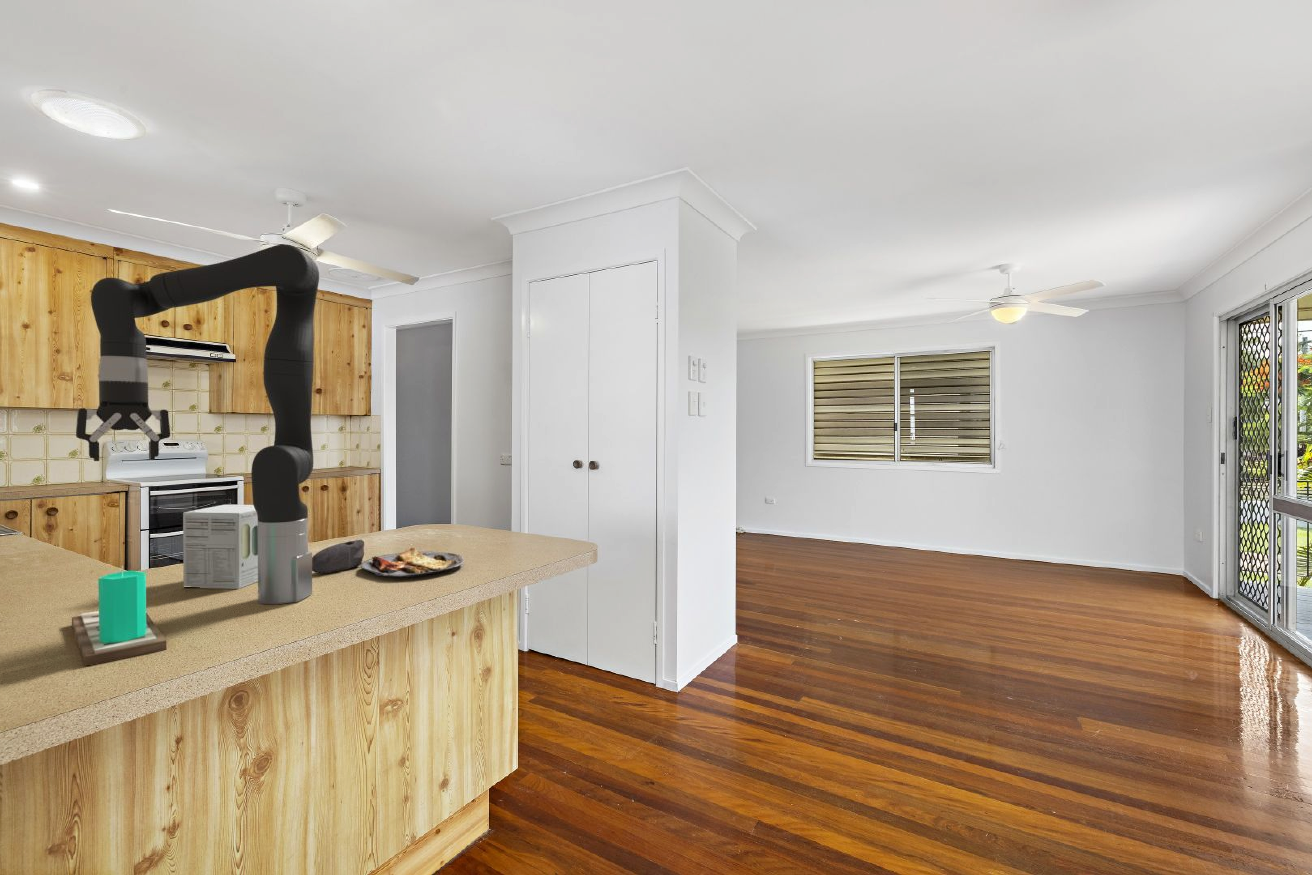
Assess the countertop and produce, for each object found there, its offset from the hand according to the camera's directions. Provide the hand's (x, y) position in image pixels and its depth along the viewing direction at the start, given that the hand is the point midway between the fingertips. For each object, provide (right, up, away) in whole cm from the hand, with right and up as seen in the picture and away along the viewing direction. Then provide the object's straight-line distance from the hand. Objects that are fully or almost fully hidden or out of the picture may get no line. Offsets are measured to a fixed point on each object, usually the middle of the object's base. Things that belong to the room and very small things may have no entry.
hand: (125, 460), depth 124 cm
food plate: (+44, -30, +36) cm, 64 cm away
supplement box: (+7, -30, +21) cm, 37 cm away
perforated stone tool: (+26, -30, +33) cm, 51 cm away
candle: (+18, -29, -21) cm, 40 cm away
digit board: (+12, -31, -16) cm, 37 cm away
